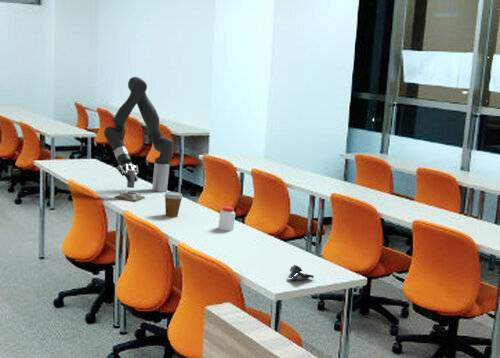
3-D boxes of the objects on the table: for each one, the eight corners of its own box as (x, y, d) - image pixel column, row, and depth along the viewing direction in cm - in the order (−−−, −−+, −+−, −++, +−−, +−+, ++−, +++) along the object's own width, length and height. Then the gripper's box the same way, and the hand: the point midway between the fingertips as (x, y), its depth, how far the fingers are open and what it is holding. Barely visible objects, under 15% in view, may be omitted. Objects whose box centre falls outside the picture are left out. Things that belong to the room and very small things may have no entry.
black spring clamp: (277, 275, 260) (290, 284, 250) (281, 260, 260) (294, 268, 249) (303, 279, 265) (316, 288, 255) (307, 264, 265) (321, 272, 254)
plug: (128, 186, 373) (130, 169, 371) (135, 187, 372) (136, 170, 371) (125, 187, 369) (127, 169, 368) (132, 188, 368) (134, 170, 367)
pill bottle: (222, 230, 321) (224, 209, 320) (215, 226, 328) (218, 205, 326) (236, 230, 325) (238, 209, 323) (229, 226, 332) (231, 205, 330)
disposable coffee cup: (159, 215, 338) (161, 192, 336) (168, 212, 347) (170, 190, 345) (175, 218, 335) (177, 196, 333) (183, 215, 344) (186, 193, 342)
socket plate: (123, 194, 379) (124, 189, 379) (144, 198, 377) (145, 193, 376) (114, 198, 367) (114, 193, 366) (135, 201, 364) (136, 196, 364)
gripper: (115, 152, 367) (126, 177, 361) (135, 152, 378) (146, 177, 372) (109, 160, 372) (119, 185, 366) (129, 160, 382) (140, 184, 376)
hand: (133, 180), depth 369 cm, fingers closed on plug, 4 cm apart
